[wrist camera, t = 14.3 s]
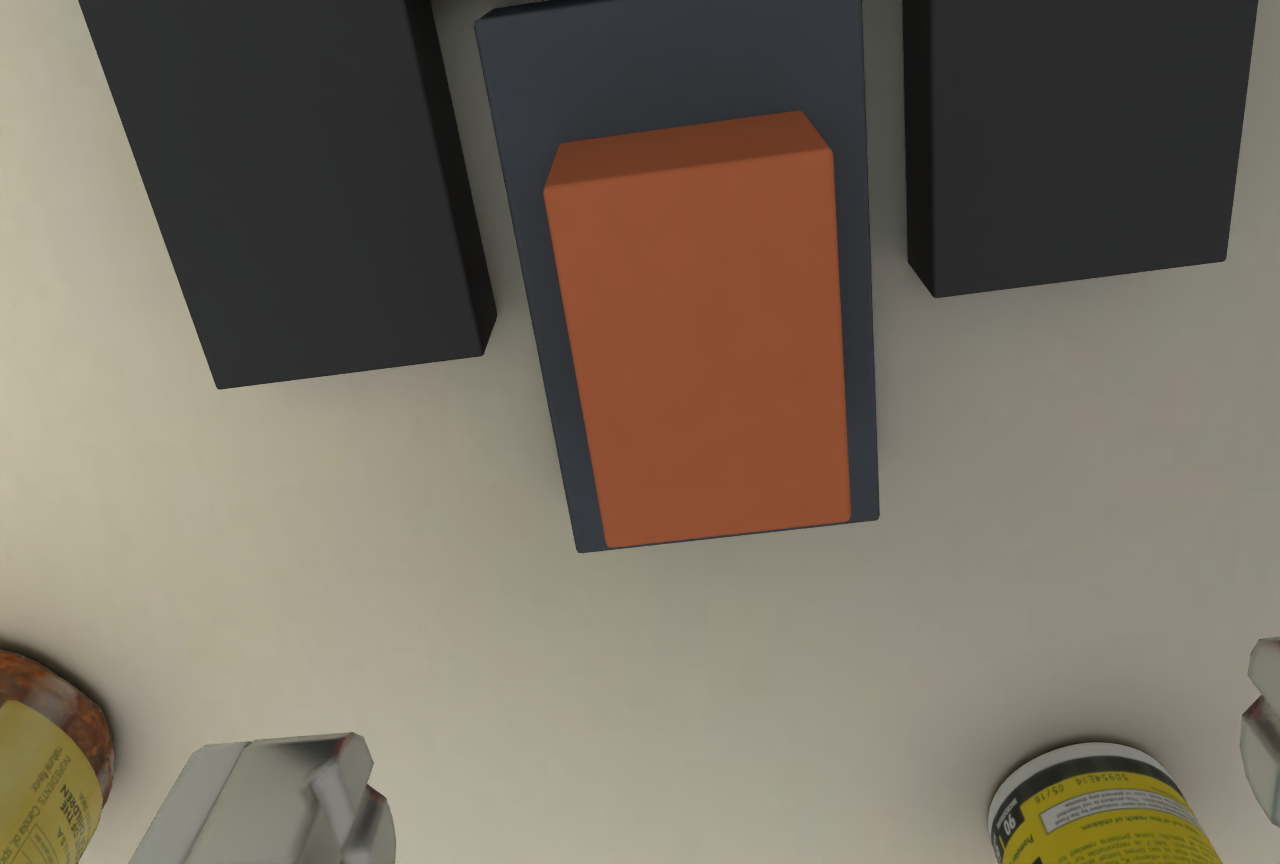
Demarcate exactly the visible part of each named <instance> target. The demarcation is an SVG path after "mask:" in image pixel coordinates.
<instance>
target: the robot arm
mask: <svg viewBox="0 0 1280 864" xmlns="http://www.w3.org/2000/svg"><path fill="white" fill-rule="evenodd" d="M1248 677H1249V678H1250V680H1251V681H1252V682H1253V683H1254V685H1255V686H1256V687H1257V689H1258V690H1259V691H1260V693H1261V694H1262V695H1261V696H1260V697H1259V698H1258V699H1257V700H1256V701H1255V702H1254V703H1253V704H1252V705H1251V706H1250V707H1249V708H1248V709H1247V710H1246V712H1245V713H1244V714H1243V715H1242V723H1241V734H1240V749H1241V754H1242V759H1243V764H1244V769H1245V774H1246V777H1247V779H1248V782H1249V784H1250V786H1251V789H1252V791H1253V793H1254V795H1255V798H1256V800H1257V801H1258V803H1259V804H1260V806H1261V807H1262V809H1263V811H1264V812H1265V814H1266V815H1267V817H1268V818H1269V820H1270V821H1271V823H1272V824H1274V825H1276V826H1277V827H1279V828H1280V637H1272V638H1263V639H1259V640H1258V642H1257V644H1256V645H1255V647H1254V649H1253V650H1252V652H1251V656H1250V663H1249V669H1248ZM373 764H374V762H373V760H372V757H371V755H370V752H369V750H368V747H367V745H366V742H365V740H364V737H363V736H360V735H358V734H356V733H353V732H350V733H337V734H325V735H312V736H299V737H286V738H274V739H261V740H255V741H253V742H235V743H223V744H210V745H205V746H203V747H202V748H200V749H199V750H197V751H196V752H194V753H193V754H192V755H191V756H190V758H189V759H188V761H187V763H186V765H185V766H184V768H183V770H182V772H181V773H180V775H179V777H178V778H177V780H176V782H175V784H174V785H173V787H172V789H171V791H170V792H169V794H168V796H167V797H166V799H165V801H164V803H163V804H162V806H161V808H160V810H159V811H158V813H157V815H156V817H155V818H154V820H153V822H152V823H151V825H150V827H149V829H148V830H147V832H146V834H145V836H144V837H143V839H142V841H141V842H140V844H139V846H138V848H137V849H136V851H135V853H134V855H133V856H132V858H131V860H130V862H129V863H128V864H395V854H396V837H395V830H394V823H393V817H392V814H391V811H390V808H389V805H388V802H387V799H386V798H385V797H384V796H383V795H381V794H380V793H379V792H377V791H376V790H375V789H373V788H372V787H370V786H369V785H368V784H367V782H368V779H369V776H370V773H371V770H372V767H373Z"/></svg>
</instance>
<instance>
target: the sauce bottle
mask: <svg viewBox="0 0 1280 864" xmlns="http://www.w3.org/2000/svg"><path fill="white" fill-rule="evenodd" d="M114 759H115V754H114V747H113V737H112V733H111V732H110V731H109V727H108V723H107V721H106V718H105V716H104V714H103V712H102V710H101V707H100V706H99V705H98V704H96V703H94V702H92V701H91V700H90V699H89V698H88V697H87V696H86V695H85V694H84V693H83V692H81V691H80V690H78V689H77V688H76V687H75V686H73V685H72V684H70V683H69V682H68V681H66V680H64V679H63V678H61V677H59V676H57V675H56V674H55V673H54V672H53V671H51V670H50V669H48V668H47V667H45V666H43V665H42V664H40V663H38V662H36V661H35V660H33V659H29V658H27V657H25V656H23V655H21V654H20V653H15V652H10V651H6V650H3V649H0V864H78V862H79V860H80V858H81V857H82V855H83V853H84V851H85V849H86V847H87V845H88V844H89V842H90V840H91V838H92V836H93V834H94V832H95V830H96V828H97V826H98V823H99V821H100V816H101V811H102V809H103V807H104V805H105V804H106V802H107V799H108V796H109V793H110V790H111V787H112V780H113V773H114V771H115V769H114Z"/></svg>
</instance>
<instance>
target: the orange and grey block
mask: <svg viewBox="0 0 1280 864" xmlns="http://www.w3.org/2000/svg"><path fill="white" fill-rule="evenodd" d="M474 28H475V33H476V38H477V43H478V48H479V54H480V59H481V64H482V69H483V74H484V79H485V84H486V89H487V94H488V100H489V105H490V110H491V115H492V120H493V125H494V130H495V135H496V141H497V146H498V151H499V156H500V161H501V166H502V171H503V176H504V182H505V187H506V192H507V197H508V202H509V207H510V212H511V217H512V222H513V228H514V233H515V238H516V243H517V248H518V253H519V258H520V263H521V269H522V274H523V279H524V284H525V289H526V294H527V299H528V304H529V309H530V315H531V320H532V325H533V330H534V335H535V340H536V345H537V350H538V356H539V361H540V366H541V371H542V376H543V381H544V386H545V391H546V397H547V402H548V407H549V412H550V417H551V422H552V427H553V432H554V437H555V443H556V448H557V453H558V458H559V463H560V468H561V473H562V478H563V484H564V489H565V494H566V499H567V504H568V509H569V514H570V519H571V524H572V530H573V535H574V540H575V545H576V549H577V551H578V553H587V552H596V551H605V550H614V549H623V548H632V547H641V546H650V545H659V544H668V543H677V542H686V541H695V540H704V539H713V538H722V537H731V536H740V535H749V534H758V533H767V532H776V531H785V530H794V529H803V528H812V527H821V526H830V525H839V524H848V523H857V522H866V521H875V520H878V519H879V516H880V511H879V482H878V453H877V425H876V396H875V367H874V339H873V310H872V281H871V253H870V224H869V195H868V167H867V138H866V110H865V81H864V52H863V24H862V0H550V1H543V2H537V3H530V4H523V5H516V6H509V7H503V8H496V9H493V10H491V11H490V12H488V13H487V14H486V15H484V16H483V17H481V18H480V19H478V20H477V21H475V25H474Z"/></svg>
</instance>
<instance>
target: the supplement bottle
mask: <svg viewBox="0 0 1280 864" xmlns="http://www.w3.org/2000/svg"><path fill="white" fill-rule="evenodd" d="M988 830H989V836H990V839H991V842H992V845H993V848H994V851H995V855H996V857H997V860H998V863H999V864H1223V863H1222V862H1221V860H1220V858H1219V857H1218V855H1217V853H1216V851H1215V850H1214V848H1213V846H1212V845H1211V843H1210V841H1209V839H1208V838H1207V836H1206V834H1205V832H1204V831H1203V829H1202V827H1201V825H1200V824H1199V822H1198V821H1197V819H1196V817H1195V816H1194V814H1193V812H1192V810H1191V808H1190V807H1189V805H1188V804H1187V802H1186V800H1185V799H1184V797H1183V795H1182V793H1181V792H1180V790H1179V789H1178V787H1177V785H1176V784H1175V782H1174V781H1173V779H1172V777H1171V776H1170V775H1169V773H1168V772H1167V771H1166V770H1165V768H1164V767H1163V766H1161V765H1160V764H1159V763H1158V762H1157V761H1156V760H1155V759H1153V758H1152V757H1150V756H1149V755H1147V754H1145V753H1143V752H1141V751H1139V750H1137V749H1134V748H1131V747H1128V746H1124V745H1119V744H1113V743H1103V742H1091V743H1082V744H1076V745H1070V746H1066V747H1062V748H1059V749H1056V750H1053V751H1051V752H1048V753H1045V754H1043V755H1041V756H1039V757H1037V758H1035V759H1033V760H1031V761H1029V762H1027V763H1026V764H1024V765H1023V766H1021V767H1020V768H1019V769H1017V770H1016V771H1015V772H1013V773H1012V774H1011V775H1010V776H1009V777H1008V778H1007V779H1006V780H1005V782H1004V783H1003V784H1002V785H1001V786H1000V788H999V789H998V791H997V792H996V794H995V796H994V798H993V800H992V803H991V806H990V810H989V816H988Z"/></svg>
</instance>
